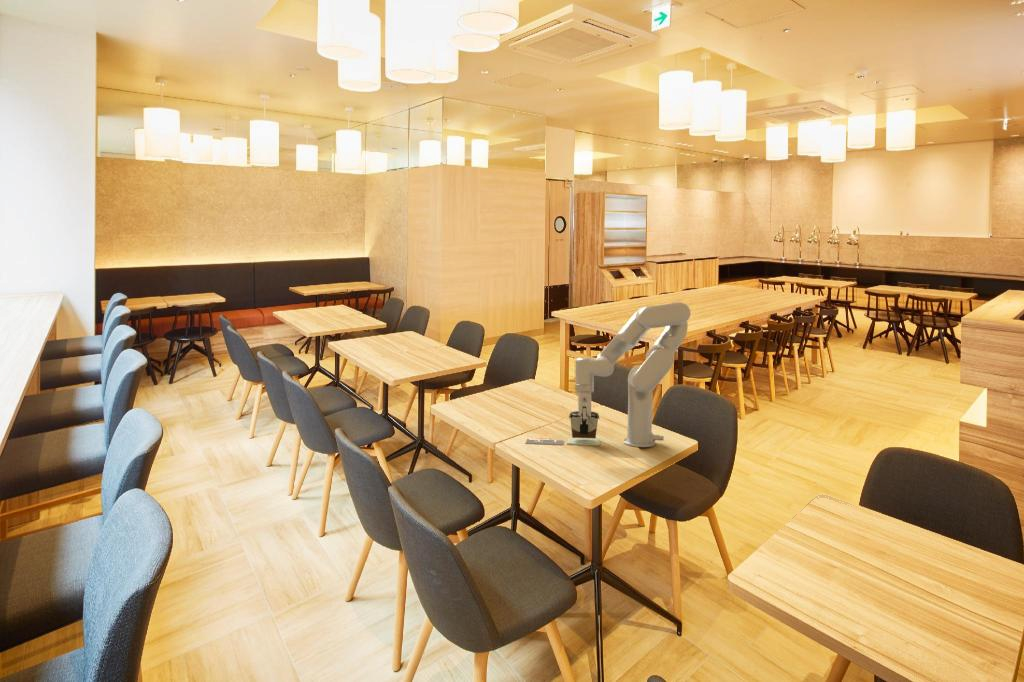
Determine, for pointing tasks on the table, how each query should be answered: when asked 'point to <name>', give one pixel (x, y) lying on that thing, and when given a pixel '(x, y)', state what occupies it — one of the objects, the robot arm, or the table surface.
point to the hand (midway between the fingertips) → (583, 431)
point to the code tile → (545, 442)
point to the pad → (583, 441)
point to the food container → (577, 421)
